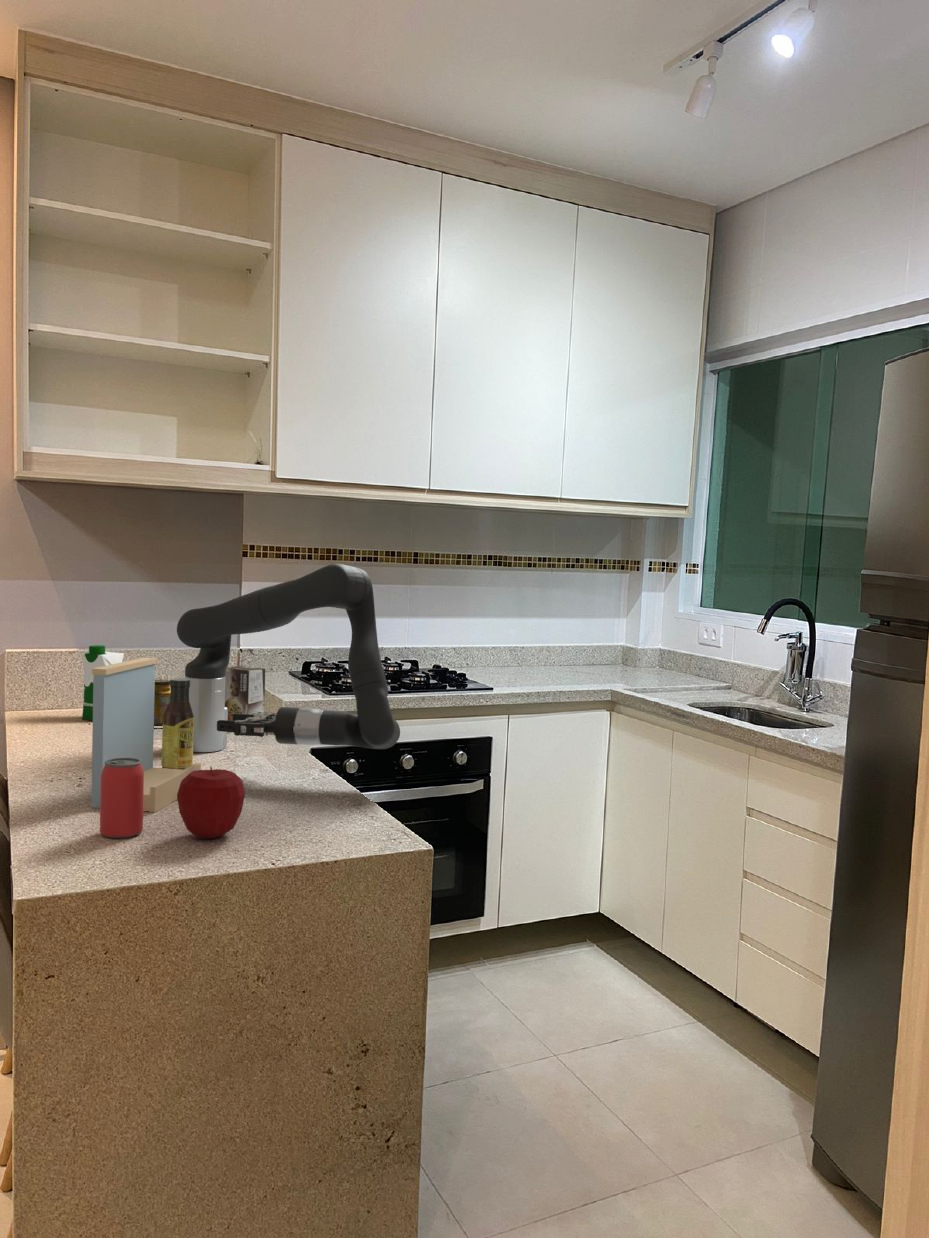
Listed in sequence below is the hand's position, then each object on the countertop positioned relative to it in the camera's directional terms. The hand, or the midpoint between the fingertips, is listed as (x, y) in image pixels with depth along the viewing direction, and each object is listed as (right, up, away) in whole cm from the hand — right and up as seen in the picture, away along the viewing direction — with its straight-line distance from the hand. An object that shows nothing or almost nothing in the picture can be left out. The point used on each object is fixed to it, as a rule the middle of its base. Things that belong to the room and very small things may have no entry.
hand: (225, 722), depth 190 cm
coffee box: (-10, -8, +56) cm, 57 cm away
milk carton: (-49, -6, +59) cm, 77 cm away
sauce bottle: (-11, -11, +2) cm, 16 cm away
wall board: (-11, -12, -16) cm, 23 cm away
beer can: (-7, -14, -40) cm, 43 cm away
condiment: (-31, -7, +53) cm, 62 cm away
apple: (+8, -15, -39) cm, 42 cm away
